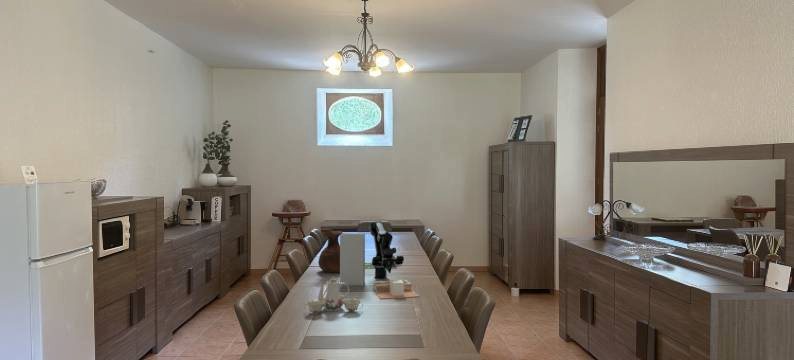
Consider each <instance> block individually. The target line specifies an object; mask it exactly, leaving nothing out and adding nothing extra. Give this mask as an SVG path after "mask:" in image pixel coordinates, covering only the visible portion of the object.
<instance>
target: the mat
mask: <svg viewBox="0 0 794 360" xmlns="http://www.w3.org/2000/svg"><path fill="white" fill-rule="evenodd" d="M375 295H376V296H377V297H378V299H380V300H388V299H389V300H390V299H407V298H420V295H419V294H418V293H417V292H416V291H414V290H413V289H411V291H404V295H400V296H393V295H392V294H391V293H390V292H376V291H375Z"/></svg>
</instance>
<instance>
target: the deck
mask: <svg viewBox="0 0 794 360" xmlns="http://www.w3.org/2000/svg"><path fill="white" fill-rule="evenodd" d="M401 280H402V281H403V282H404V291H411V290H412V283H411V282H410V281H408V280H407V279H401ZM372 286H373V287H372V288H373V290H374V291H375V292H390V280H377V281H375V280H374V281H373V282H372Z"/></svg>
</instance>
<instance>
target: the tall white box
mask: <svg viewBox="0 0 794 360" xmlns="http://www.w3.org/2000/svg"><path fill="white" fill-rule="evenodd" d="M339 245H340V272H339V284H340V283H346V284H347V285H348V286H351V285H352V286H364V284H365V283H366V269H365V263H366V233H342V234H341V235H340V236H339ZM341 285H342V286H343V285H345V284H341ZM347 285H346V286H347Z"/></svg>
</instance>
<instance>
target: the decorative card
mask: <svg viewBox="0 0 794 360" xmlns="http://www.w3.org/2000/svg"><path fill="white" fill-rule="evenodd" d="M396 257H397V256H395V255H393V257H392V258H396ZM388 265H389V263H388ZM402 266H403V264H400V265H397V264H396V262H394V265H393V266H392V268H391V270H394V269H395V270H397V269H398V267H402ZM365 270H375V268H374V267H373V265H372V262H365Z"/></svg>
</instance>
